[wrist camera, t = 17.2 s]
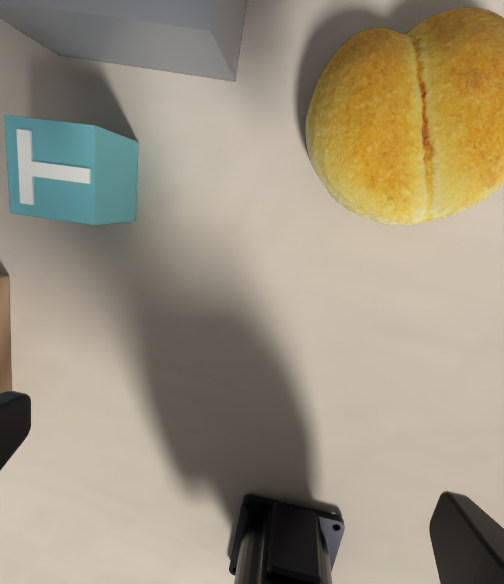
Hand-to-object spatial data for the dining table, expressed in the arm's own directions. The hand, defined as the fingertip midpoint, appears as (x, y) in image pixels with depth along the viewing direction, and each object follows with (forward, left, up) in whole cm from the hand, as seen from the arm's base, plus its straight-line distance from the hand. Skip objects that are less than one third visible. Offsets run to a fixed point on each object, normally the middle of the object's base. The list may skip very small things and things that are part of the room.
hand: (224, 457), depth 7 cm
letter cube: (+5, +10, -12) cm, 16 cm away
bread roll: (+10, -5, -12) cm, 17 cm away
